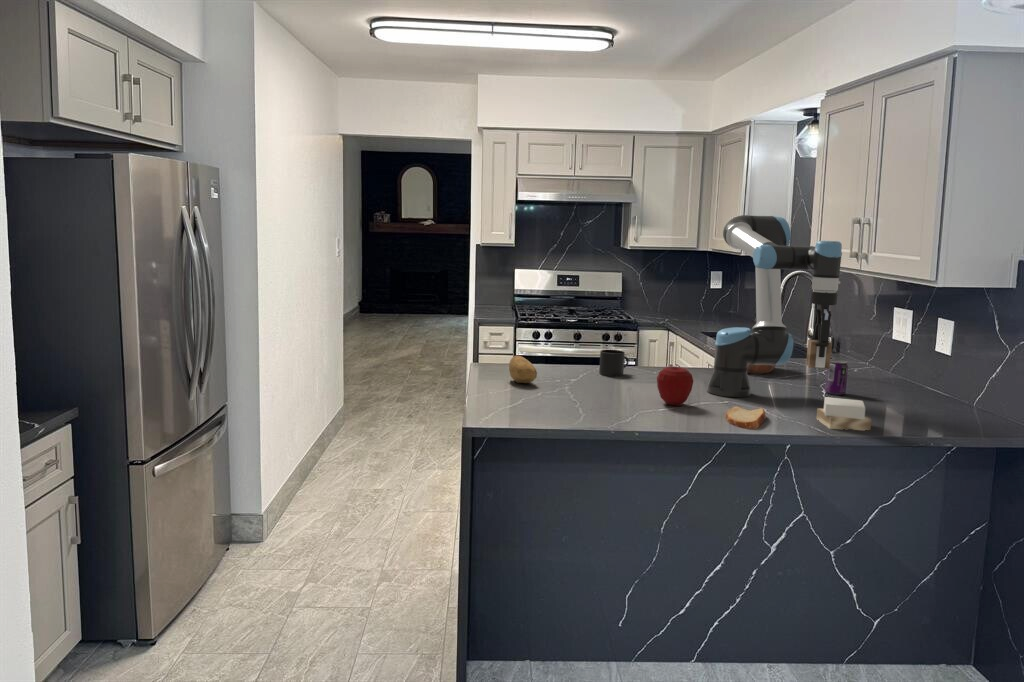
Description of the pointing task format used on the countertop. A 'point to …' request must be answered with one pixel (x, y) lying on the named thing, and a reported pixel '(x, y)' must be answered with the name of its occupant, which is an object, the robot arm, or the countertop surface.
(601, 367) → the mug
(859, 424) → the tower base
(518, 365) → the potato
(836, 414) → the tower top
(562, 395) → the countertop surface
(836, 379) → the beverage can
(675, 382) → the apple
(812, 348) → the walnut block
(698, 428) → the countertop surface
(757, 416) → the slice of bread
